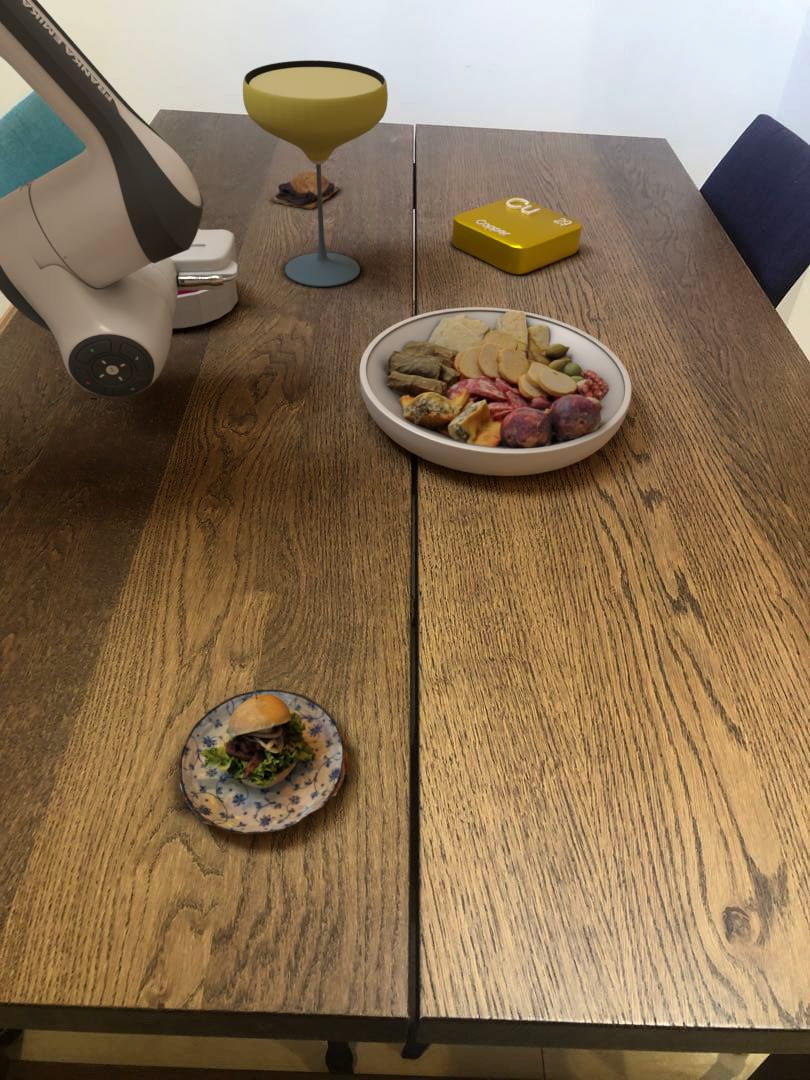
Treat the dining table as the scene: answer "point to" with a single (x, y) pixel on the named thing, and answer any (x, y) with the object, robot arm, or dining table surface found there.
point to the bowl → (494, 390)
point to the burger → (262, 762)
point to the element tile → (516, 235)
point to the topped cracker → (304, 190)
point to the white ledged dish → (204, 305)
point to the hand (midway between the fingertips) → (145, 228)
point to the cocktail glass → (316, 132)
